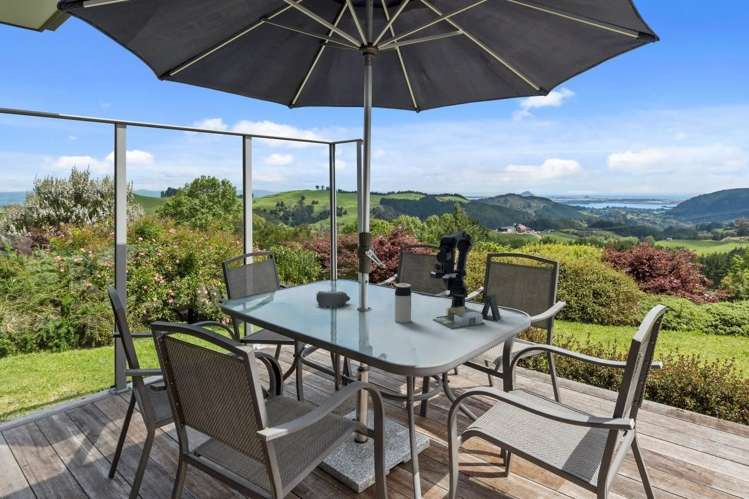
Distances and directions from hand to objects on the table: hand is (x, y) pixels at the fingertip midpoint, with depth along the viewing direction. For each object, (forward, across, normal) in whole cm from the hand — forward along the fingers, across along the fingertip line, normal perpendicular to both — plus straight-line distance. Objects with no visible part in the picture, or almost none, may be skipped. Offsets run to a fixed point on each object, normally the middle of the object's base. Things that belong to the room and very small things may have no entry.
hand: (448, 290), depth 222 cm
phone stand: (+13, -16, +14) cm, 25 cm away
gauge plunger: (+12, +3, +10) cm, 16 cm away
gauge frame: (+13, +3, +13) cm, 18 cm away
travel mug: (+13, +26, 0) cm, 29 cm away
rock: (+13, +47, -44) cm, 66 cm away
